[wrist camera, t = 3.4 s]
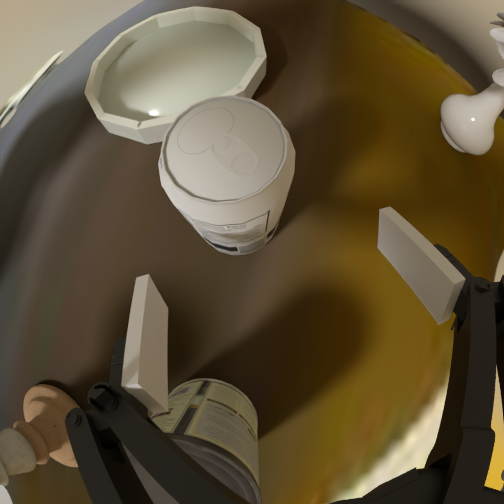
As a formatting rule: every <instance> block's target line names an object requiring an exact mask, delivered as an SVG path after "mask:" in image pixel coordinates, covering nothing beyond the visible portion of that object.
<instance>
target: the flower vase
mask: <svg viewBox="0 0 504 504" xmlns="http://www.w3.org/2000/svg"><path fill="white" fill-rule="evenodd" d="M497 16H498V17H499V18H501V19H502V20H503V21H504V12H499V13H497ZM490 23H491V24H495V25H499V26H502V27H504V22H502V21H493V22H490ZM490 35H491V36H492V37H493V38H494V39H495V40H497V41H498V42H497V49H498V51H499V53H500V55H501V56H502V58H503V59H504V29H500V28H495V29H492V30H491V31H490ZM492 78H493V81H494V83H493V84H491V85H490V86H489V87H488V88H487V89H485V90H484V91H482V92H481V93H479V94H476V95H472V96H469V95H465V94H453V95H450V96H448V97H447V98H445V100H444V101H443V102H442V105H441V108H440V113H441V130H442V133H443V135H444V137H445V139H446V140H447V142H448V143H449V144H450V145H451V146H452V147H453V148H454V149H456V150H458V151H459V152H463V153H466V152H467V153H470V154H473V155H483V154H485V153H486V152H488V151H489V150H490V148H491V146H492V144H493V142H494V133H495V131H494V125H495V122H496V119H497V117H498V115H499V114H500V113H501V111H502V110H503V109H504V68H502V69H498V70H496V71H495V72H494V73H493V75H492Z"/></svg>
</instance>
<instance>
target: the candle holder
mask: <svg viewBox="0 0 504 504" xmlns="http://www.w3.org/2000/svg"><path fill="white" fill-rule="evenodd" d="M73 408H80V407H79V406H78V404H77V403H76V402H75V401H74V400H73V399H72V398H71V397H70V396H69V395H67V394H66V393H65V392H63V391H62V390H60V389H59V388H57V387H54V386H52V385H47V384H39V385H36V386H33V387H32V388H30V389H29V391H28V392H27V393H26V396H25V398H24V415H25V420H26V421H22V420H19V421H17V422H15V423H14V426H13V429H12V428H5V429H3V430H2V431H1V432H0V485H3V486H6V485H7V484H8V483H9V478H8V477H9V476H12V475H15V474H19V473H26V472H31V471H33V470H34V469H35V467H36V463H37V464H46V463H47V462H48V460H49V456H51V457H52V458H53V459H55V460H56V461H58V462H60V463H62V464H64V465H67V466H70V467H78V465H77V462H76V459H75V456H74V453H73V450H72V447H71V444H70V441H69V437H68V434H67V430H66V427H65V418H66V415H67V414H68V412H69V411H70V410H71V409H73Z"/></svg>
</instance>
